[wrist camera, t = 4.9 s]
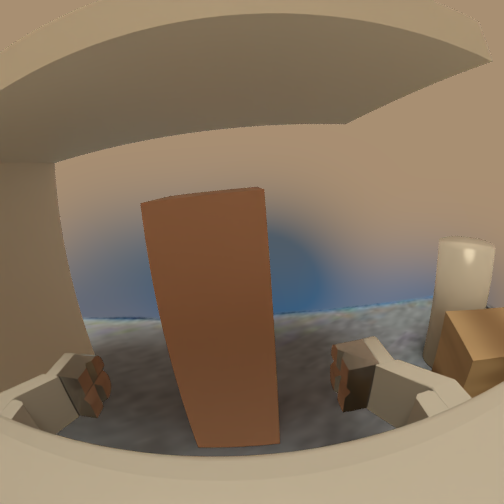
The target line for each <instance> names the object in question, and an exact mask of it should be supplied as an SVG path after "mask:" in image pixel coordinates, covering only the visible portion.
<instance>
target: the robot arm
mask: <svg viewBox="0 0 504 504" xmlns="http://www.w3.org/2000/svg"><path fill="white" fill-rule="evenodd" d="M331 356H332V358H333V360H334V362H333V363H332V364H331V365H330V378H331V384H332V387H333V390H334V391H335V392H337V393H338V398H337V400H338V402H339V405H340V407H341V410H342V412H349V411H354V410H359V409H364V408H367V409H368V410H370V411H371V412H373V413H374V414H375V415H377V416H379V417H380V418H382V419H383V420H385V421H386V422H388V423H389V424H391V425H392V426H394V427H395V428H396V429H393V430H390V431H387V432H383V433H380V434H376V435H373V436H369V437H365V438H361V439H357V440H353V441H349V442H344V443H340V444H335V445H330V446H325V447H319V448H313V449H307V450H300V451H293V452H285V453H276V454H265V455H250V456H222V457H205V456H178V455H164V454H153V453H144V452H136V451H129V450H122V449H116V448H110V447H105V446H100V445H95V444H90V443H86V442H82V441H77V440H73V439H70V438H66V437H62V436H59V435H55V434H56V433H58V432H59V431H60V430H62V429H63V428H64V427H66V426H67V425H68V424H70V423H71V422H72V421H74V420H75V419H76V418H78V417H79V415H80V416H86V417H93V418H98V416H99V414H100V412H101V411H102V409H103V407H104V406H103V403H102V402H103V401H105V400H107V399H108V397H109V395H110V393H111V382H110V379H109V376H108V375H107V374H106V373H105V372H104V371H103V368H104V363H103V361H102V359H101V358H100V357H99V356H97V355H86V354H76V353H64V354H63V356H62V357H61V358H60V359H59V360H58V361H57V362H56V363H55V364H54V366H53V367H52V368H51V369H50V370H49V371H48V372H47V374H42V375H40V376H37V377H35V378H33V379H31V380H28V381H26V382H24V383H22V384H19V385H17V386H15V387H13V388H10V389H8V390H6V391H3V392H1V393H0V504H504V381H503V382H501V383H500V384H498V385H496V386H494V387H493V388H491V389H489V390H487V391H485V392H483V393H481V394H479V395H477V396H475V397H473V398H471V397H470V395H469V394H468V393H467V392H466V391H465V390H464V389H463V388H462V387H461V385H460V384H459V383H458V382H457V381H456V380H455V379H452V378H449V377H446V376H443V375H440V374H437V373H434V372H432V371H429V370H426V369H423V368H420V367H417V366H415V365H412V364H409V363H406V362H404V361H401V360H394V359H393V358H392V357H391V355H390V354H389V353H388V352H387V350H386V349H385V348H384V346H383V345H382V344H381V343H380V341H379V340H378V339H377V338H376V337H374V336H373V337H368V338H364V339H360V340H355V341H350V342H345V343H339V344H334V345H332V350H331Z"/></svg>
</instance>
